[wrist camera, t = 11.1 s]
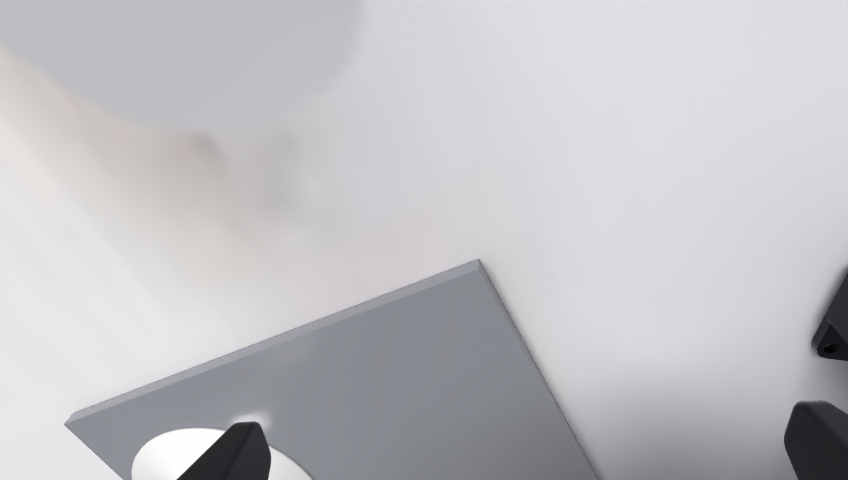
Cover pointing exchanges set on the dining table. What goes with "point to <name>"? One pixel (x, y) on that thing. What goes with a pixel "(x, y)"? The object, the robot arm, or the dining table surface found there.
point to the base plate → (360, 398)
